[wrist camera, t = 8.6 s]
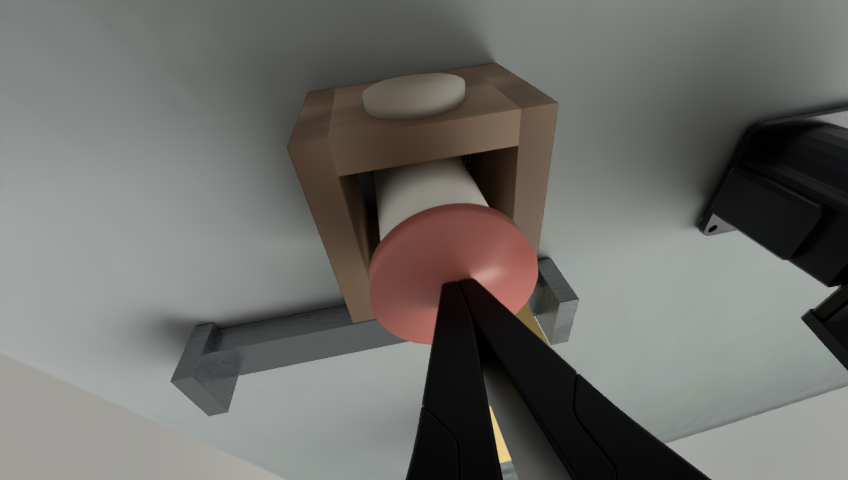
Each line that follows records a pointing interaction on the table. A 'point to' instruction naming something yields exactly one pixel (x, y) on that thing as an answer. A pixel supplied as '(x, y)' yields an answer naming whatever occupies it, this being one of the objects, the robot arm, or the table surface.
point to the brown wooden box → (419, 153)
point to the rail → (324, 341)
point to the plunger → (441, 246)
